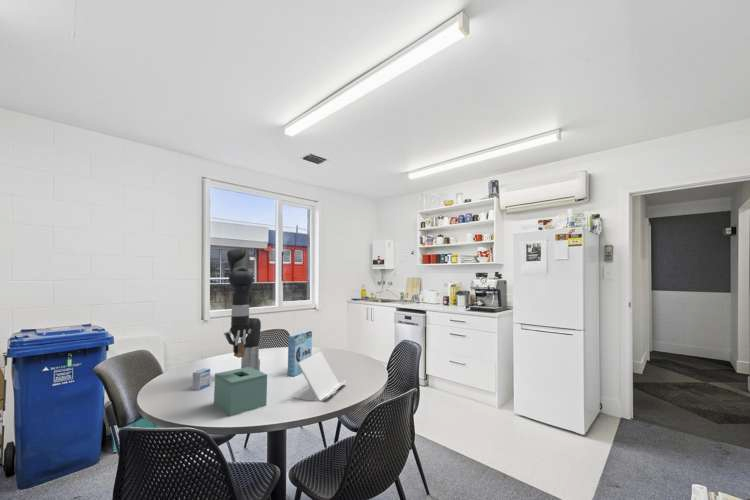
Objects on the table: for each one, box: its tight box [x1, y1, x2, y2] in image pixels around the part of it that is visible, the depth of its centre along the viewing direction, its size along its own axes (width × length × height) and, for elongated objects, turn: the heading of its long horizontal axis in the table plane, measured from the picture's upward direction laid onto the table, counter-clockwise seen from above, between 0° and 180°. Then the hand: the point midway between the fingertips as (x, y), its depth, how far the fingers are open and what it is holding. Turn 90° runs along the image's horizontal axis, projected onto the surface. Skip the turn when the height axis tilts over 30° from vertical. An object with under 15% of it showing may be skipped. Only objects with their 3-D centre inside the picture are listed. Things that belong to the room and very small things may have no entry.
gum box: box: [287, 330, 313, 377], centre depth 202 cm, size 20×5×23 cm, turn 160°
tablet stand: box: [292, 351, 347, 402], centre depth 168 cm, size 18×25×17 cm
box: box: [213, 367, 268, 417], centre depth 150 cm, size 16×18×14 cm
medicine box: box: [191, 368, 211, 391], centre depth 173 cm, size 8×4×9 cm, turn 168°
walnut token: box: [233, 342, 244, 358], centre depth 151 cm, size 2×5×6 cm, turn 45°
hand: (239, 352), depth 151 cm, fingers closed on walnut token, 2 cm apart
